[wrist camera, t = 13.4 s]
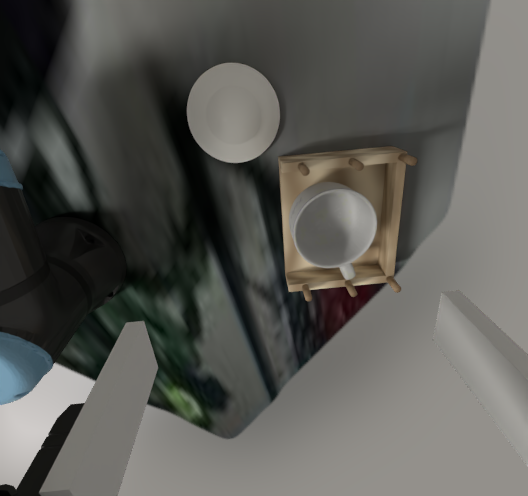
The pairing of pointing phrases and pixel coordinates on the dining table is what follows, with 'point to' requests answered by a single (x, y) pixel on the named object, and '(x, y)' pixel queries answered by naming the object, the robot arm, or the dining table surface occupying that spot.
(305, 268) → the rack
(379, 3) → the dining table surface
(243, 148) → the saucer
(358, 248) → the teacup
